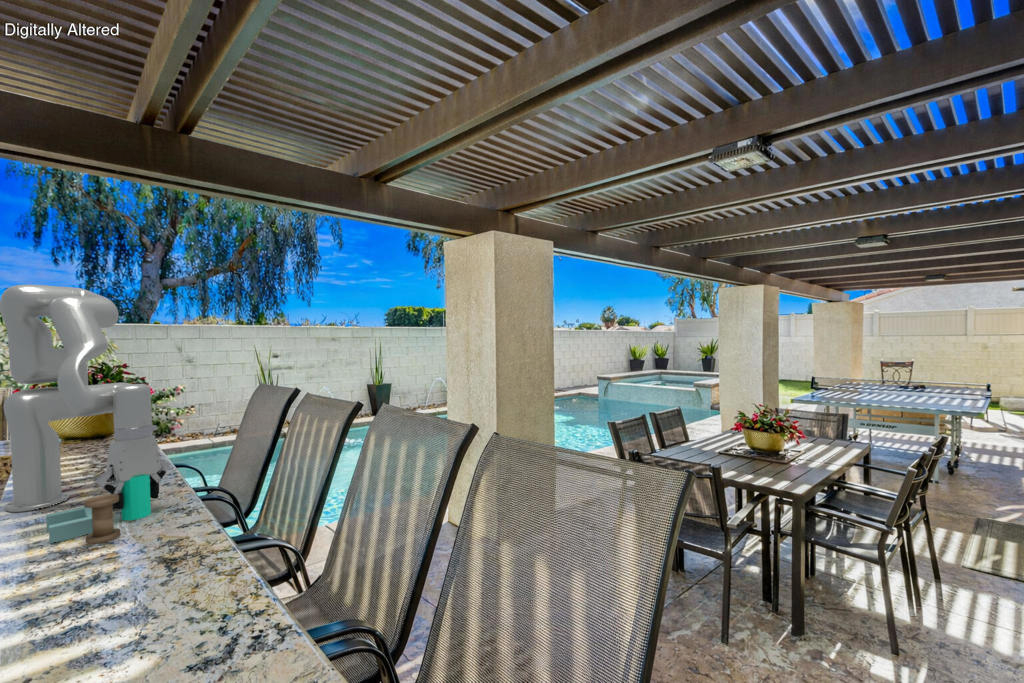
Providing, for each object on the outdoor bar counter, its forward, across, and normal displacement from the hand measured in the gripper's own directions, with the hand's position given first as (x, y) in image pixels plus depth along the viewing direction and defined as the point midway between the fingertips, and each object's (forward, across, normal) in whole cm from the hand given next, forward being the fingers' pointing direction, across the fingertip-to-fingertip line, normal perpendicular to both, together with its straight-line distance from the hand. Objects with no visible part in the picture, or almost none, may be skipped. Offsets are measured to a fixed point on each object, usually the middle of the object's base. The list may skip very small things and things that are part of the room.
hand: (136, 502), depth 123 cm
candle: (+4, 0, 0) cm, 4 cm away
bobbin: (+3, +11, +8) cm, 14 cm away
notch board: (+3, +11, -4) cm, 12 cm away
